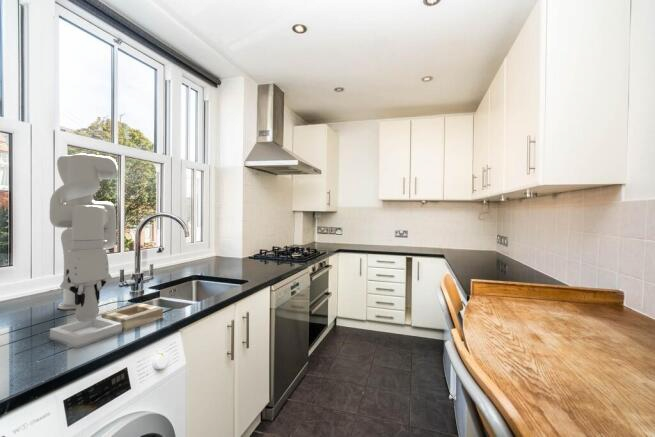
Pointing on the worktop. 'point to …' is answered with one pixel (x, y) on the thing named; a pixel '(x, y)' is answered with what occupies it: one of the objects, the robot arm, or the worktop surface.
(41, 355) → the worktop surface
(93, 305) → the salt shaker
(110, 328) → the grey tray
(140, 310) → the birch holder
